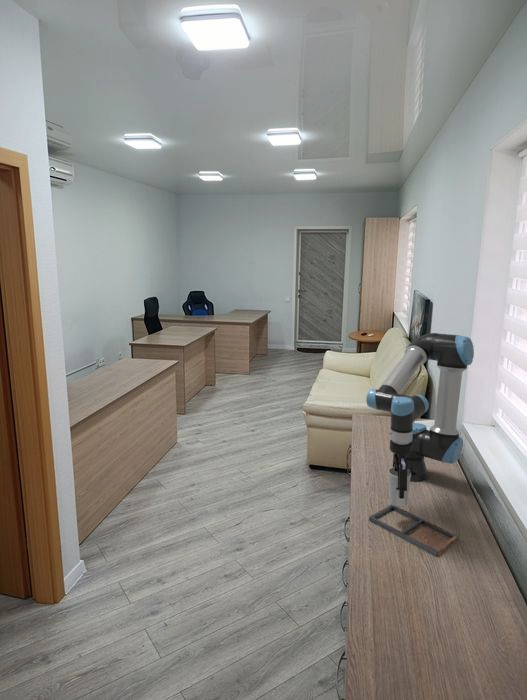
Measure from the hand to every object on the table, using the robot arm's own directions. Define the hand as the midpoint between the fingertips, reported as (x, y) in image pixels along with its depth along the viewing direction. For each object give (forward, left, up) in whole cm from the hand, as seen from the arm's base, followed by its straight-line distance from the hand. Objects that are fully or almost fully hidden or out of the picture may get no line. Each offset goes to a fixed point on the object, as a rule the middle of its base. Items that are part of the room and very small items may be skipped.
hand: (398, 499), depth 163 cm
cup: (0, 0, -1) cm, 1 cm away
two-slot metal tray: (+1, +7, -9) cm, 11 cm away
